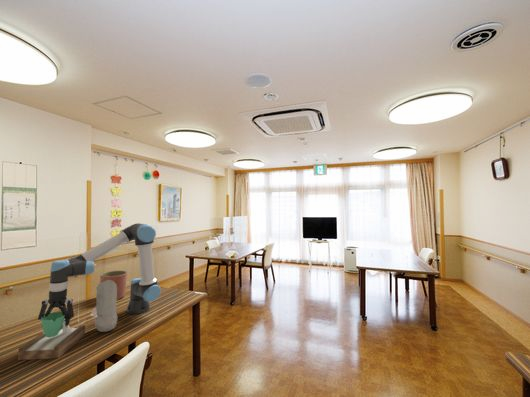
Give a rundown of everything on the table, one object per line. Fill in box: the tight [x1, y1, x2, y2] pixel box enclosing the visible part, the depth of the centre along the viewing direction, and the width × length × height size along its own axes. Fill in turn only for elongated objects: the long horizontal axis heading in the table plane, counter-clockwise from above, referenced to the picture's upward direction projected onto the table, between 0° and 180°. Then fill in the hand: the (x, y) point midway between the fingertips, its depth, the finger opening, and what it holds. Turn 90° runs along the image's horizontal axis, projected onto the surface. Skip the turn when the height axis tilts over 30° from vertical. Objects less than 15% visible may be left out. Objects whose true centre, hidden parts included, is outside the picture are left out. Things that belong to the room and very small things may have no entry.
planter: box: [99, 269, 128, 301], centre depth 200 cm, size 19×19×20 cm
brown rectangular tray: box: [17, 325, 86, 361], centre depth 130 cm, size 18×22×6 cm
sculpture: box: [94, 280, 118, 333], centre depth 150 cm, size 15×12×30 cm
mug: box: [40, 311, 65, 337], centre depth 131 cm, size 15×10×10 cm
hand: (55, 332), depth 130 cm, fingers closed on mug, 9 cm apart
